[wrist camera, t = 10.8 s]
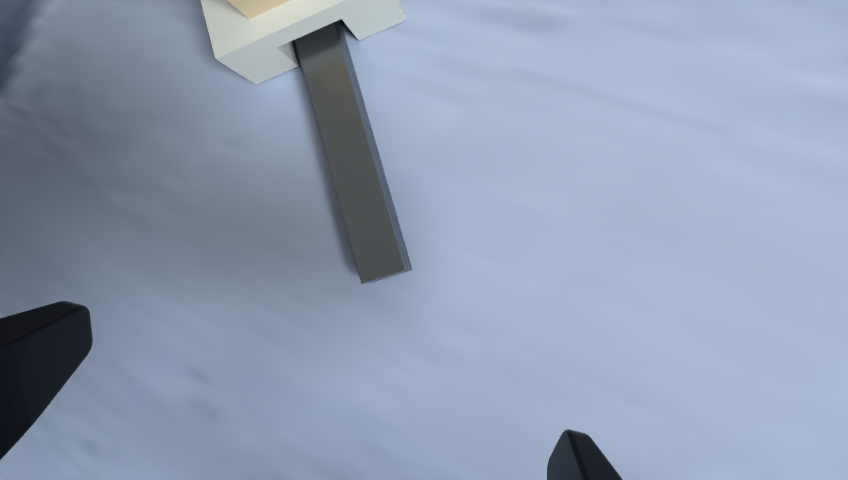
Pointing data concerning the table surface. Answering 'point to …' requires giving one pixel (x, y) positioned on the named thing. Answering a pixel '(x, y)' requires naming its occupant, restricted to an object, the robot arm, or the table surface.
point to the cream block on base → (285, 29)
